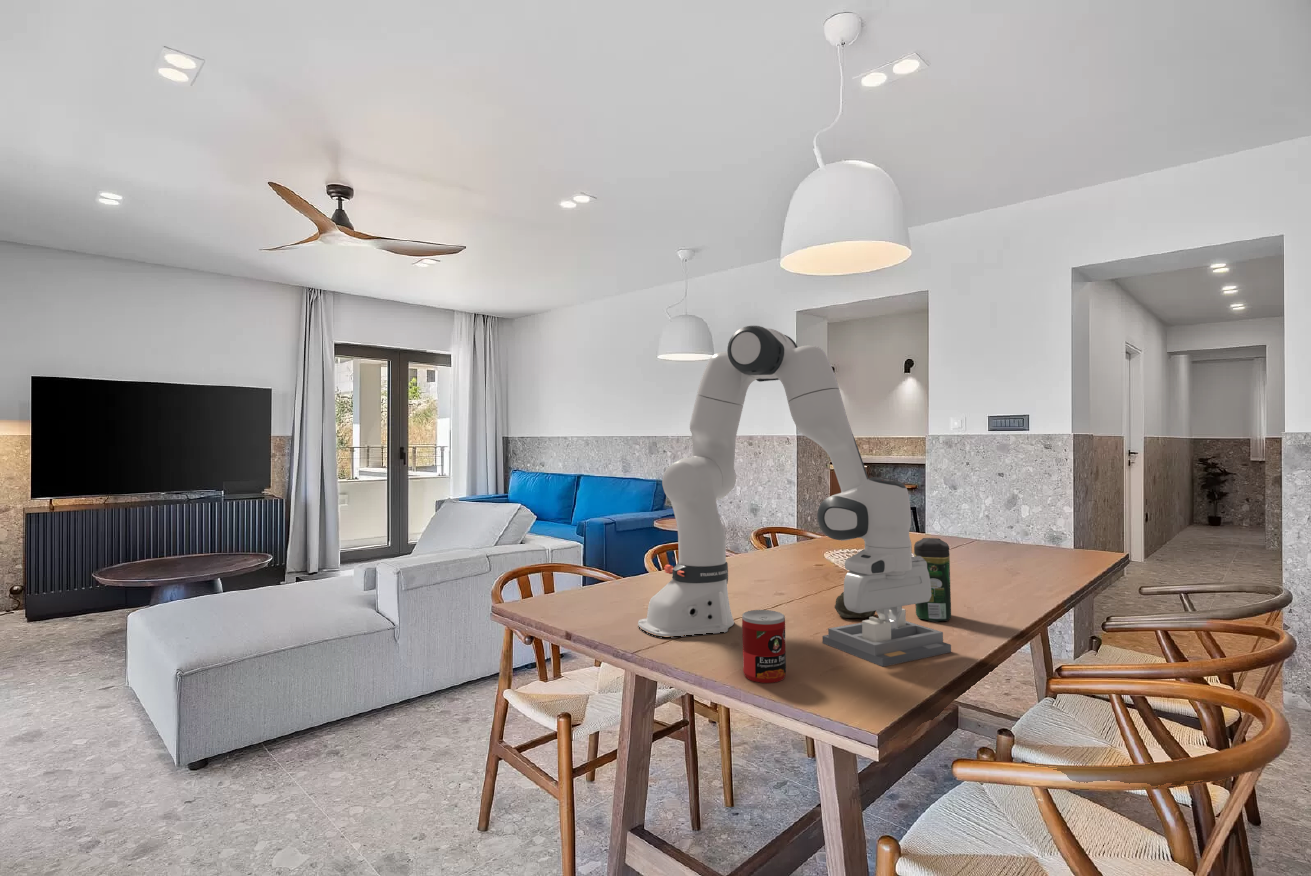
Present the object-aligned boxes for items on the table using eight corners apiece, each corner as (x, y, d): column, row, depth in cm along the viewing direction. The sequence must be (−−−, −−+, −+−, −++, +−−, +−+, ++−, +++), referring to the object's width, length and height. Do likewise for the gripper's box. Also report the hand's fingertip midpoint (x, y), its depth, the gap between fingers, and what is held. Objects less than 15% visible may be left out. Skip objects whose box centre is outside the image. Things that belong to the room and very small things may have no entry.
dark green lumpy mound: (833, 597, 155) (878, 598, 153) (831, 562, 165) (874, 562, 163) (834, 631, 161) (878, 632, 159) (832, 595, 171) (874, 596, 168)
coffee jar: (915, 611, 165) (913, 535, 165) (950, 613, 162) (948, 536, 163) (914, 621, 156) (913, 541, 156) (952, 623, 153) (950, 542, 154)
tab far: (891, 636, 139) (891, 608, 139) (878, 631, 142) (878, 605, 142) (905, 633, 141) (905, 606, 141) (893, 629, 144) (892, 603, 144)
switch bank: (882, 666, 125) (882, 647, 125) (822, 642, 141) (822, 626, 141) (951, 652, 133) (950, 634, 133) (887, 631, 148) (886, 615, 148)
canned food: (758, 686, 116) (757, 622, 116) (734, 672, 124) (733, 612, 124) (795, 679, 119) (794, 617, 119) (770, 666, 127) (769, 607, 127)
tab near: (875, 651, 129) (875, 622, 129) (862, 646, 133) (862, 617, 133) (891, 648, 131) (890, 619, 131) (877, 643, 134) (877, 615, 134)
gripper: (913, 552, 141) (915, 618, 141) (837, 561, 132) (839, 632, 132) (938, 557, 135) (939, 625, 135) (860, 566, 126) (862, 640, 126)
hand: (889, 629), depth 134 cm, fingers closed
